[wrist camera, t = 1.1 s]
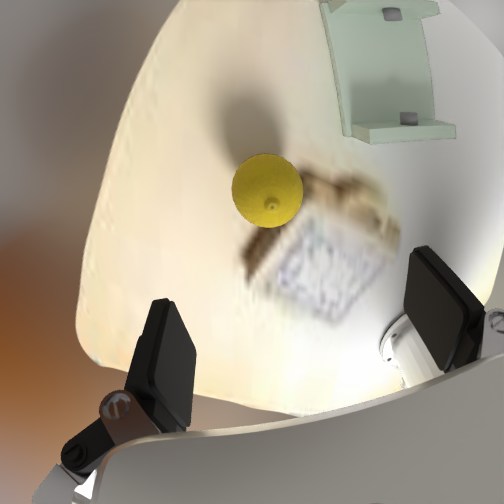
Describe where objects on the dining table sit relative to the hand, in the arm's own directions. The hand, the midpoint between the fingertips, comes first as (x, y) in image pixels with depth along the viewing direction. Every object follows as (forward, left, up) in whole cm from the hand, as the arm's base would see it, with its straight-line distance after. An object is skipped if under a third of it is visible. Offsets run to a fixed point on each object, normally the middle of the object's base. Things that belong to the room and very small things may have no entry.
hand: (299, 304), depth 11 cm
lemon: (0, 0, -18) cm, 18 cm away
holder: (+9, -13, -18) cm, 24 cm away
